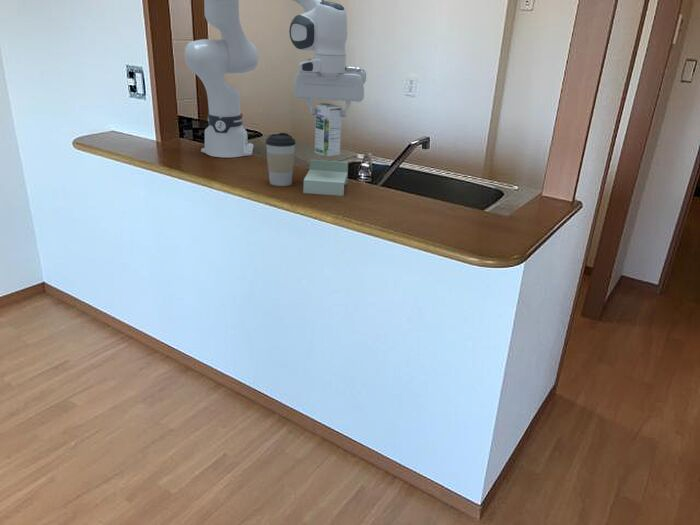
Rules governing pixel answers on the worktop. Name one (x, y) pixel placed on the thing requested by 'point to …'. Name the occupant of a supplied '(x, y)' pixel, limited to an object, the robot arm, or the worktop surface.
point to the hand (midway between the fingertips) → (328, 115)
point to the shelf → (326, 177)
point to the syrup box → (327, 129)
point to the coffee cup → (280, 158)
